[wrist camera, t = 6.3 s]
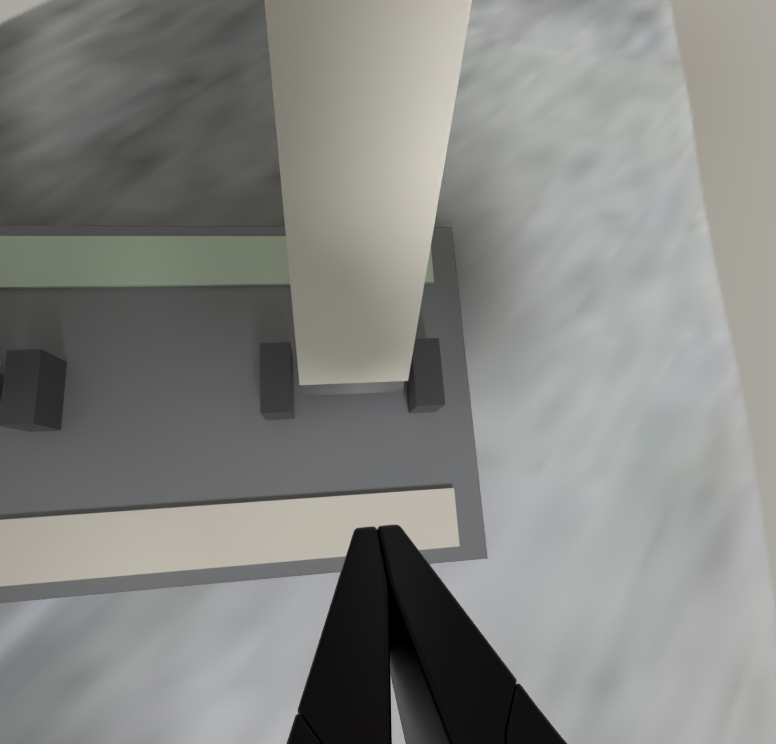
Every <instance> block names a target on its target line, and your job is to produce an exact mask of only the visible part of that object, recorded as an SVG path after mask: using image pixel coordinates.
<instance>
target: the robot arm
mask: <svg viewBox="0 0 776 744" xmlns="http://www.w3.org/2000/svg"><path fill="white" fill-rule="evenodd" d="M390 674H391V679H392V683H393V688H394V693H395V697H396V702H397V706H398V711H399V715H400V720H401V724H402V729H403V733H404V738H405V742H406V744H567V743H566V742H565V741H564V739H563V738H562V737H561V736H560V735H559V733H558V732H557V731H556V730H555V728H554V727H553V726H552V725H551V723H550V722H549V721H548V720H547V718H546V717H545V716H544V715H543V713H542V712H541V711H540V710H539V708H538V707H537V706H536V705H535V703H534V702H533V701H532V699H531V698H530V697H529V695H528V694H527V693H526V691H525V690H524V689H523V687H522V686H521V685H520V684H516V678H515V677H514V676H513V674H512V673H511V672H510V670H509V669H508V668H507V666H506V665H505V664H504V662H503V661H502V660H501V658H500V657H499V656H498V655H497V653H496V652H495V651H494V649H493V648H492V647H491V645H490V644H489V643H488V641H487V640H486V639H485V637H484V636H483V635H482V633H481V632H480V631H479V629H478V628H477V627H476V625H475V624H474V623H473V621H472V620H471V619H470V618H469V616H468V615H467V614H466V612H465V611H464V610H463V608H462V607H461V606H460V604H459V603H458V602H457V600H456V599H455V598H454V596H453V595H452V594H451V592H450V591H449V590H448V588H447V587H446V586H445V584H444V583H443V582H442V580H441V579H440V578H439V577H438V575H437V574H436V573H435V571H434V570H433V569H432V567H431V566H430V565H429V563H428V562H427V561H426V559H425V558H424V557H423V555H422V554H421V553H420V551H419V550H418V549H417V547H416V546H415V545H414V543H413V542H412V541H411V539H410V538H409V537H408V536H407V534H406V533H405V532H404V530H403V529H402V528H401V527H400V526H399V525H384V526H379V527H378V529H376V527H373V526H372V527H361V528H356V529H355V530H354V532H353V535H352V538H351V542H350V545H349V548H348V551H347V554H346V558H345V561H344V564H343V567H342V570H341V573H340V577H339V580H338V583H337V586H336V589H335V593H334V596H333V599H332V602H331V605H330V609H329V612H328V615H327V618H326V621H325V625H324V628H323V631H322V634H321V637H320V640H319V644H318V647H317V650H316V653H315V656H314V660H313V663H312V666H311V669H310V672H309V676H308V679H307V682H306V685H305V688H304V691H303V695H302V698H301V701H300V704H299V707H298V714H297V715H296V716H295V719H294V722H293V726H292V729H291V732H290V735H289V738H288V741H287V744H392V738H391V687H390Z"/></svg>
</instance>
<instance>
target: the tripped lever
mask: <svg viewBox="0 0 776 744" xmlns="http://www.w3.org/2000/svg"><path fill="white" fill-rule="evenodd" d="M264 3H265V14H266V25H267V35H268V46H269V57H270V68H271V79H272V90H273V101H274V112H275V123H276V134H277V145H278V156H279V166H280V177H281V188H282V199H283V210H284V221H285V232H286V243H287V254H288V265H289V276H290V286H291V297H292V308H293V319H294V330H295V341H296V352H297V363H298V374H299V385H303V393H304V396H319V395H343V394H366V393H390V392H402V391H403V386H404V381H408V378H409V372H410V366H411V360H412V354H413V348H414V343H415V337H416V331H417V325H418V319H419V313H420V307H421V301H422V295H423V289H424V283H425V277H426V271H427V265H428V259H429V253H430V247H431V241H432V235H433V230H434V224H435V218H436V212H437V206H438V200H439V194H440V188H441V182H442V176H443V170H444V164H445V158H446V152H447V146H448V140H449V134H450V128H451V123H452V117H453V111H454V105H455V99H456V93H457V87H458V81H459V75H460V69H461V63H462V57H463V51H464V45H465V39H466V33H467V27H468V21H469V16H470V10H471V4H472V0H264Z"/></svg>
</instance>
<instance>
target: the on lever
mask: <svg viewBox="0 0 776 744" xmlns="http://www.w3.org/2000/svg"><path fill="white" fill-rule="evenodd" d="M1 364H2V363H1V362H0V366H1ZM3 380H4V375H3V374H2V373H0V405H1V396H2V388H3Z"/></svg>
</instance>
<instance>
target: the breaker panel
mask: <svg viewBox="0 0 776 744" xmlns="http://www.w3.org/2000/svg"><path fill="white" fill-rule="evenodd" d="M0 362H1V363H2V364H1V366H0V373H2V374H3V375H4V380H3V388H2V396H1V405H0V603H5V602H16V601H27V600H38V599H49V598H60V597H71V596H82V595H93V594H104V593H115V592H126V591H137V590H148V589H158V588H169V587H180V586H191V585H202V584H213V583H224V582H235V581H246V580H257V579H268V578H279V577H290V576H301V575H311V574H322V573H333V572H341V570H342V567H343V564H344V561H345V558H346V554H347V551H348V548H349V545H350V542H351V538H352V535H353V532H354V530H355V529H356V528H361V527H372V526H373V527H376V529H378V527H379V526H384V525H399V526H400V527H401V528H402V529H403V530H404V532H405V533H406V534H407V536H408V537H409V538H410V539H411V541H412V542H413V543H414V545H415V546H416V547H417V549H418V550H419V551H420V553H421V554H422V555H423V557H424V558H425V559H426V561H427V562H428V563H429V564H432V563H443V562H454V561H465V560H475V559H486V558H487V550H486V541H485V531H484V522H483V513H482V504H481V495H480V485H479V476H478V467H477V458H476V448H475V439H474V430H473V421H472V411H471V402H470V393H469V384H468V374H467V365H466V356H465V347H464V337H463V328H462V319H461V310H460V300H459V291H458V282H457V273H456V263H455V254H454V245H453V236H452V227H434V230H433V235H432V241H431V247H430V253H429V259H428V265H427V271H426V277H425V283H424V289H423V295H422V301H421V307H420V313H419V319H418V325H417V331H416V337H415V343H414V348H413V354H412V360H411V366H410V372H409V378H408V381H404V386H403V391H402V392H390V393H366V394H343V395H319V396H304V393H303V385H299V374H298V363H297V352H296V341H295V330H294V319H293V308H292V297H291V286H290V276H289V265H288V254H287V243H286V232H285V227H236V226H0Z"/></svg>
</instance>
